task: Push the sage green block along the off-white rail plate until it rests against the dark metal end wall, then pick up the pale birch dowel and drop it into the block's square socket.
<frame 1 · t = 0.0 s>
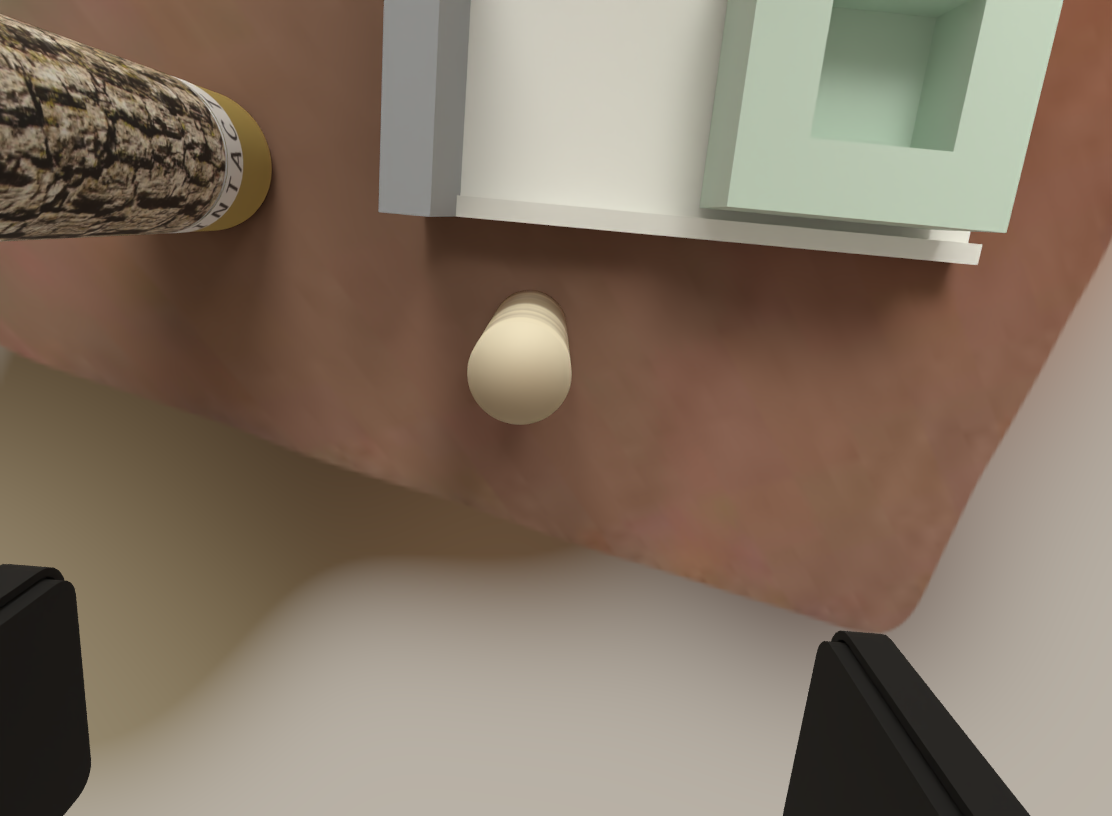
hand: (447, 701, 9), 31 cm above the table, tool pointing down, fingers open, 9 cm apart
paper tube: (212, 162, 37), on the table
dowel: (529, 327, 39), on the table
slide block: (866, 79, 32), point 4 cm above the table, slide at 0.0 cm
rail base: (710, 84, 36), on the table
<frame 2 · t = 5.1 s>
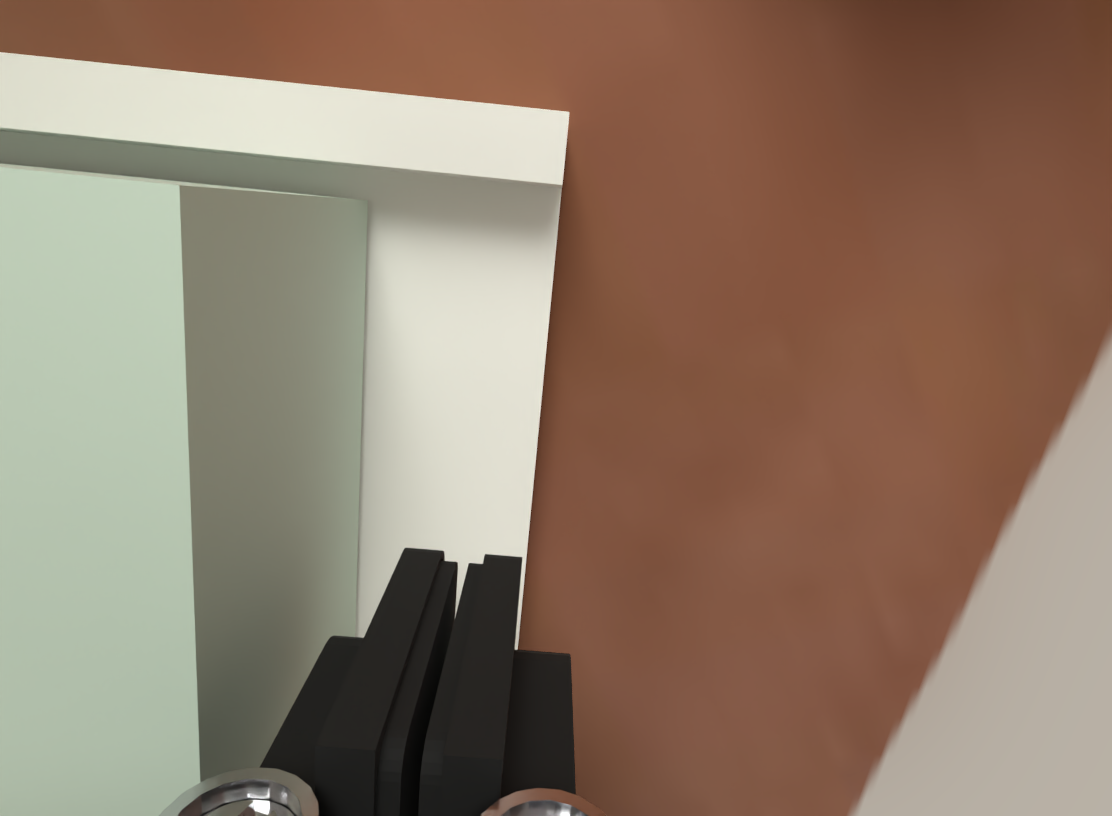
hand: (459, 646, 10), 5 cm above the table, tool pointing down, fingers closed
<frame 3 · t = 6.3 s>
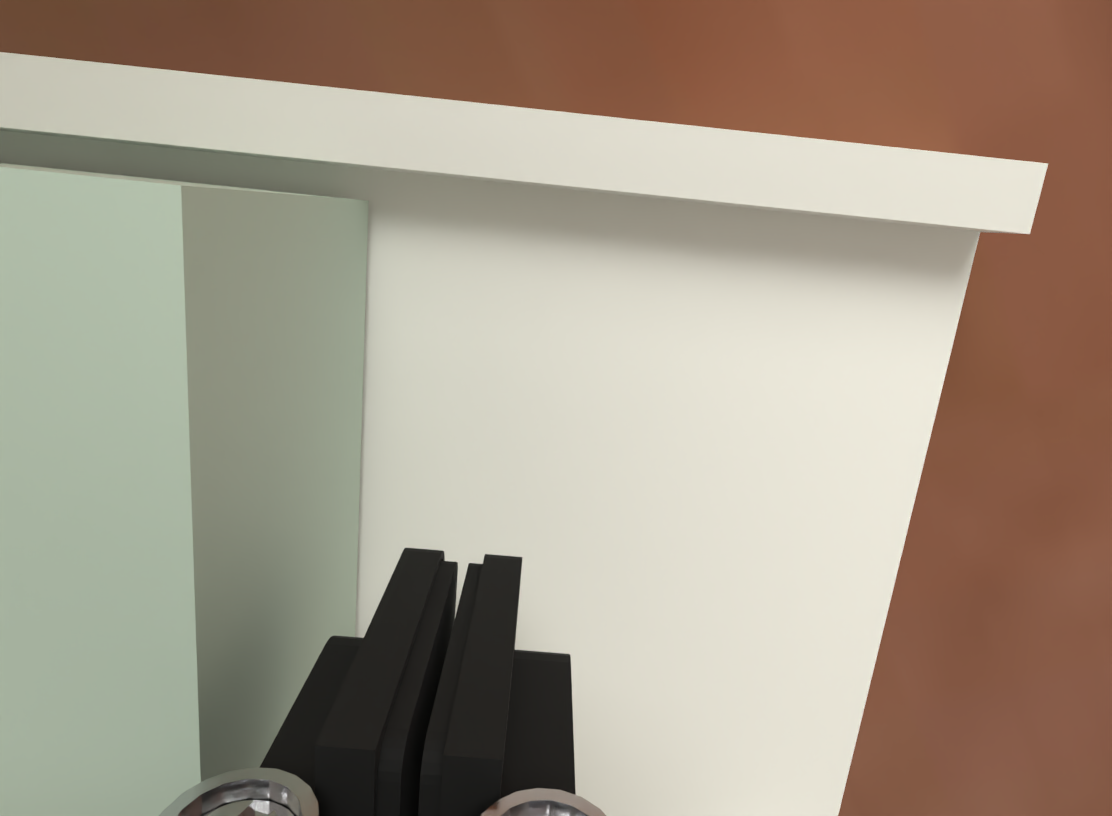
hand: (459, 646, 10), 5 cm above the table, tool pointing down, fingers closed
rail base: (181, 491, 14), on the table
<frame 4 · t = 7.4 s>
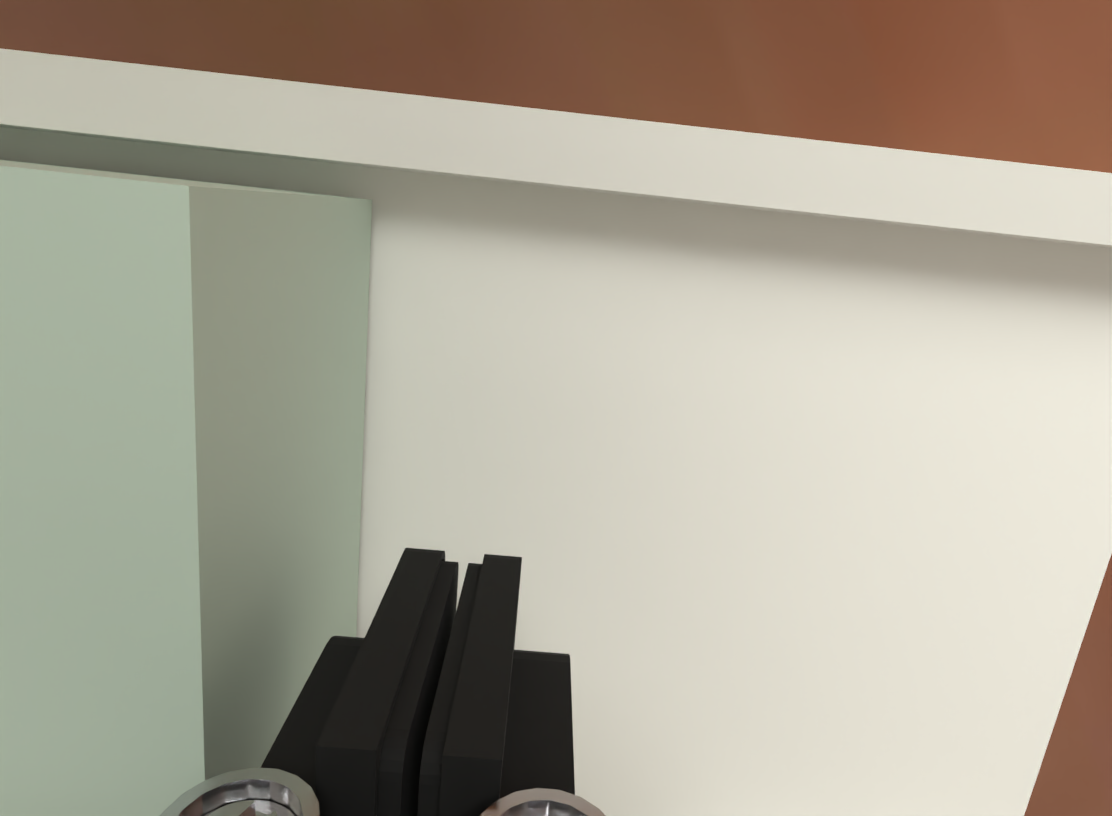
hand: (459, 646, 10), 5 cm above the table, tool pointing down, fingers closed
rail base: (377, 508, 15), on the table
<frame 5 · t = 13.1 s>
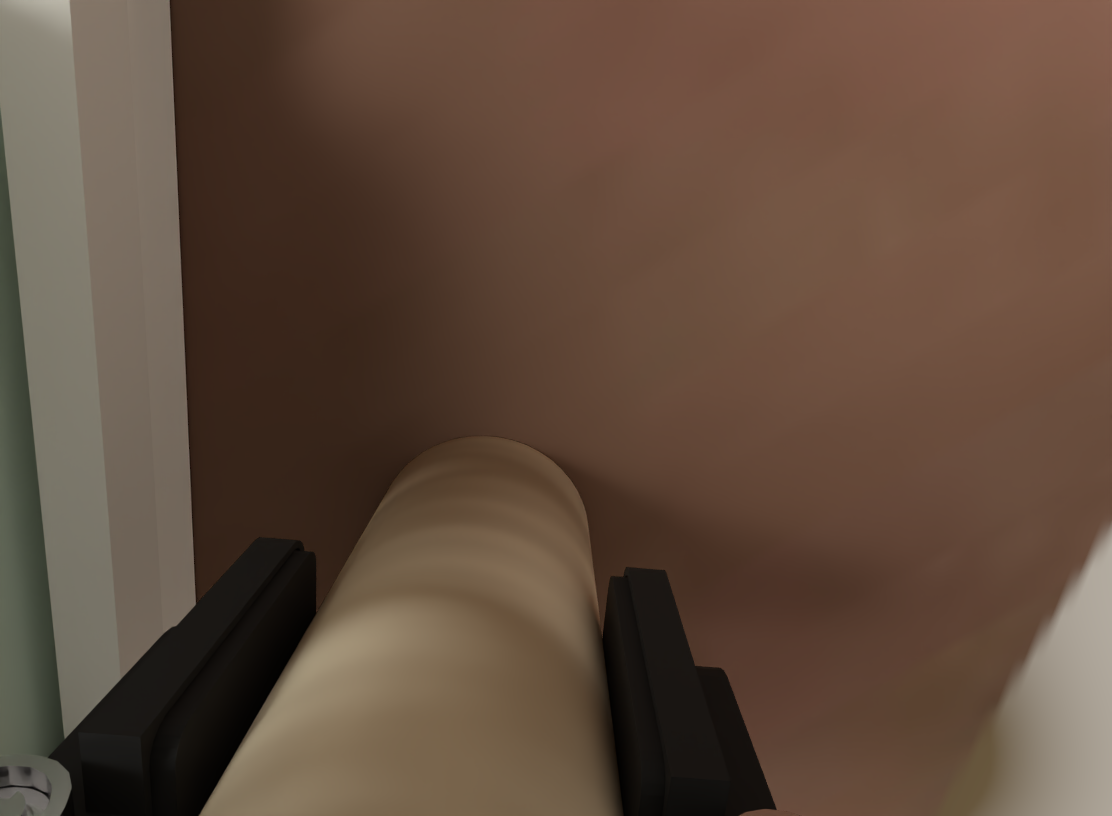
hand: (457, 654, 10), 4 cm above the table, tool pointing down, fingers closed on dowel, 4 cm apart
dowel: (483, 536, 14), on the table, touching gripper
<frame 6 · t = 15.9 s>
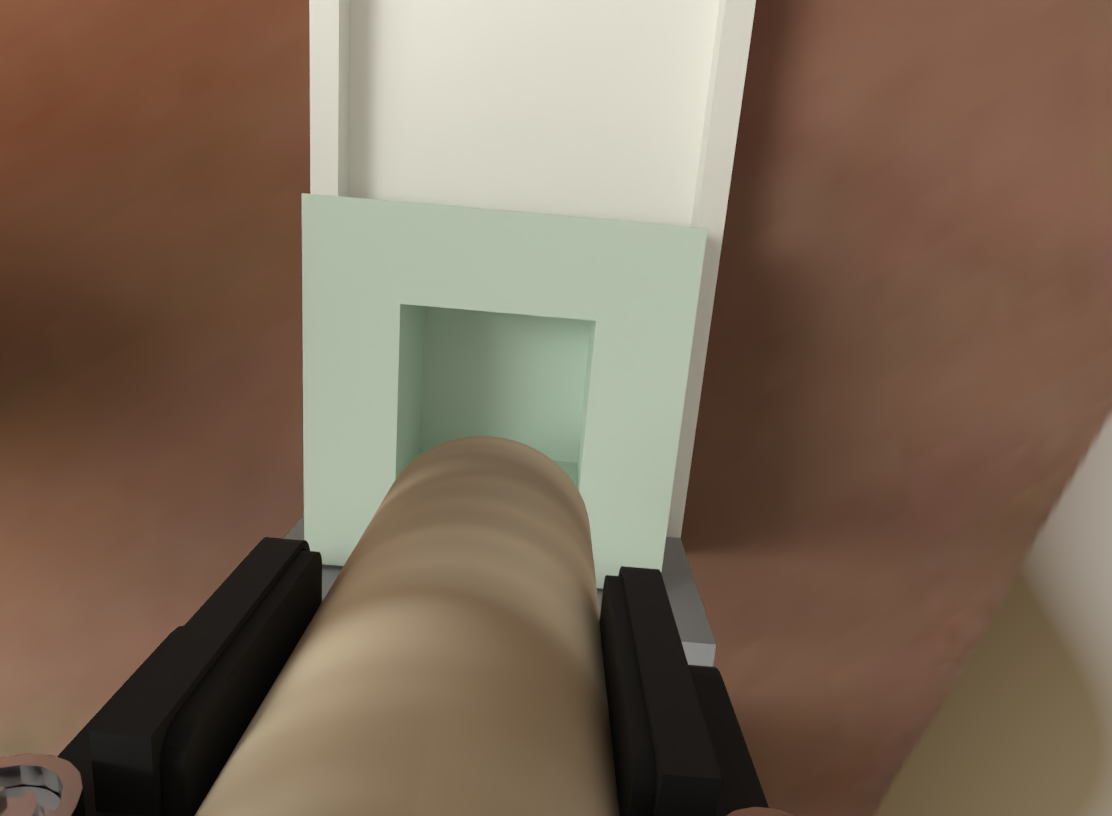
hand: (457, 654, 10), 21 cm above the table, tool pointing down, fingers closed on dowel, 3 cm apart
dowel: (485, 536, 14), point 17 cm above the table, touching gripper
slide block: (501, 385, 26), point 5 cm above the table, slide at 11.8 cm
rail base: (521, 216, 29), on the table
when the fingers open (9 cm above the table, at t = 18.7 s): dowel drops 1 cm, resting on slide block.
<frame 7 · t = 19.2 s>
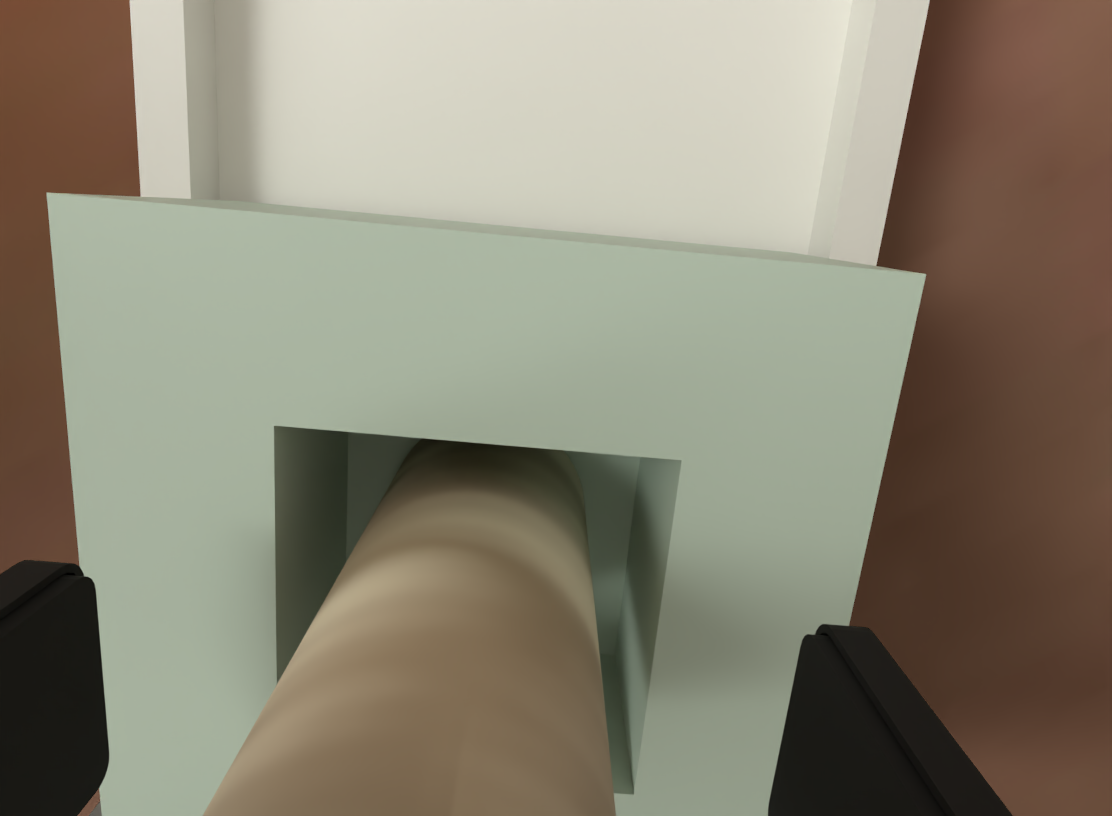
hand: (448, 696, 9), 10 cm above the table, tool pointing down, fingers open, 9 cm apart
dowel: (488, 506, 15), point 4 cm above the table, touching slide block
slide block: (485, 540, 14), point 5 cm above the table, slide at 11.8 cm, touching dowel
rail base: (518, 233, 17), on the table
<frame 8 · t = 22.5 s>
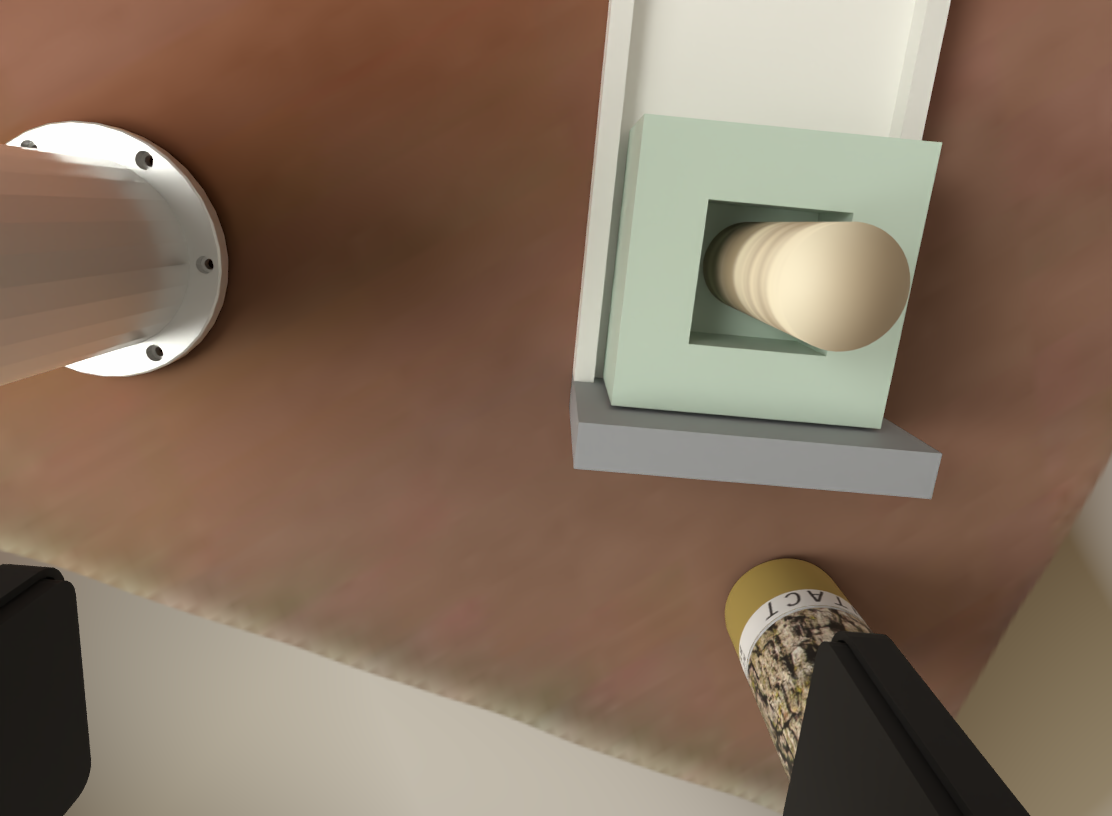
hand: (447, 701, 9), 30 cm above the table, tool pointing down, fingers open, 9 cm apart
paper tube: (778, 603, 43), on the table
dowel: (745, 265, 34), point 4 cm above the table, touching slide block
slide block: (750, 274, 33), point 4 cm above the table, slide at 11.8 cm, touching dowel
rail base: (745, 149, 36), on the table
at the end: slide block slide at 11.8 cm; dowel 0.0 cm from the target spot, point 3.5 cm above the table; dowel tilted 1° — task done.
